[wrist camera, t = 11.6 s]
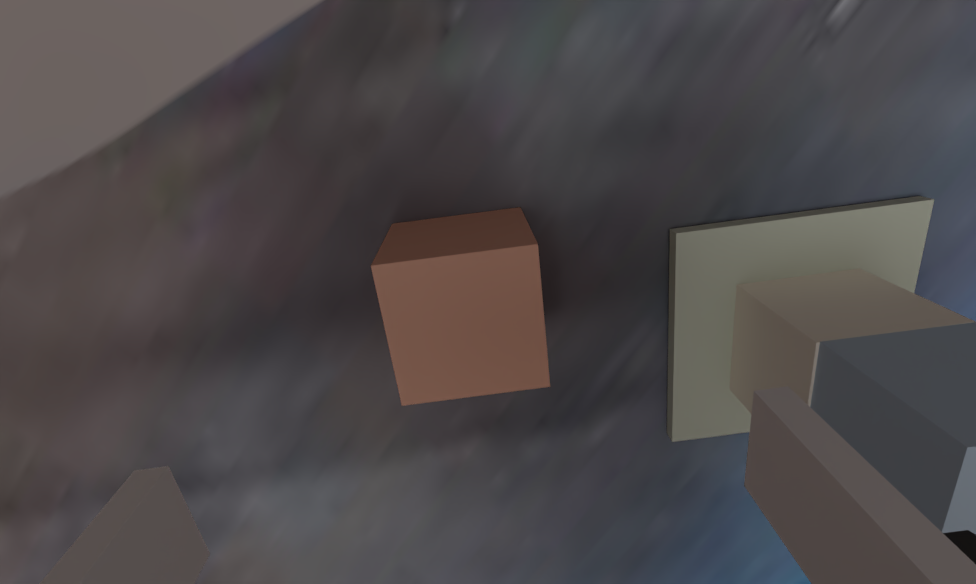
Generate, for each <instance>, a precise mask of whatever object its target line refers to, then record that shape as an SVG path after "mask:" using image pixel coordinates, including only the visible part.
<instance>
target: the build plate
mask: <svg viewBox="0 0 976 584" xmlns="http://www.w3.org/2000/svg"><path fill="white" fill-rule="evenodd" d="M933 203H934V199H931V198H926V197H922V196H915V197H908V198H900V199H893V200H885V201H878V202H870V203H863V204H855V205H847V206H840V207H832V208H825V209H817V210H810V211H802V212H794V213H787V214H779V215H772V216H764V217H757V218H749V219H741V220H734V221H726V222H719V223H711V224H704V225H696V226H689V227H681V228H673V229H670V246H669V315H668V385H667V434H668V436H669V437H670V439H671V441H672V442H676V441H684V440H691V439H699V438H707V437H714V436H722V435H730V434H737V433H745V432H750V424H751V413H750V412H749V411H748V410H747V409H746V407H745V406H744V405H743V404H742V403H741V402H740V401H739V399H738V398H737V397H736V396H735V395H734V394H733V393H732V391H731V390H730V389H729V387H730V372H731V358H732V343H733V329H734V314H735V300H736V285H738V284H745V283H753V282H760V281H768V280H775V279H783V278H790V277H798V276H806V275H813V274H821V273H828V272H836V271H843V270H851V269H859V268H860V269H862V270H864V271H866V272H869V273H871V274H873V275H875V276H877V277H879V278H882V279H884V280H886V281H888V282H890V283H892V284H895V285H897V286H899V287H901V288H903V289H905V290H908V291H910V292H912V293H914V291H915V287H916V282H917V277H918V273H919V268H920V263H921V259H922V254H923V250H924V245H925V240H926V236H927V231H928V226H929V222H930V217H931V212H932V208H933Z"/></svg>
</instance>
